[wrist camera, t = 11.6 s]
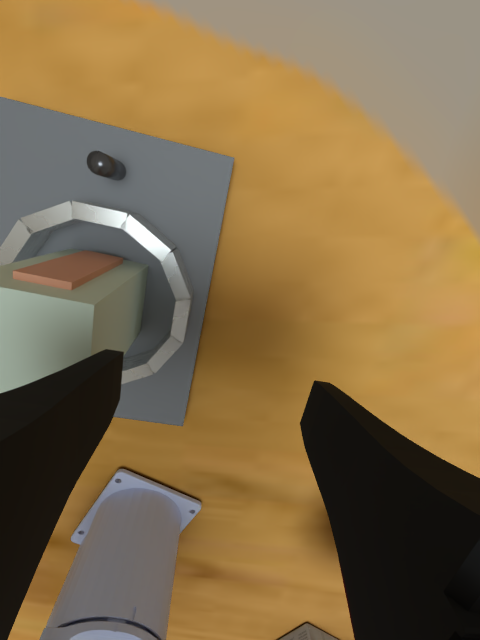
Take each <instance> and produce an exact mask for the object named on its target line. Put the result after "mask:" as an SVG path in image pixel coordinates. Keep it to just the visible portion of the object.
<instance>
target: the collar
mask: <svg viewBox="0 0 480 640" xmlns="http://www.w3.org/2000/svg"><path fill="white" fill-rule="evenodd" d="M87 166H88V168H89V169H90V171H91V172H92V173H94V174H96V175H99V176H102V177H106V178H109V179H113V180H116V181H120V180H122V179H123V178H124V177H125V175H126V168H125V166H124V164H123V163H122V162H120V161H119V160H117V159H115V158H113V157H111V156H109V155H107V154H105V153H103V152H100V151H92V152H91V153H89V155H88V157H87ZM83 220H84V221H88V222H93V223H98V224H102V225H107V226H111V227H116V228H120V229H123V230H124V231H126V232H127V233H128V234H129V235H130V236H132V237H133V238H134V239H135V240H136V241H138V242H139V243H140V244H141V245H142V246H144V247H145V248H146V249H147V250H148V251H150V252H151V253H152V254H153V255H154V256H156V257H157V258H158V259H159V260H160V262H161V265H162V267H163V270H164V272H165V274H166V277H167V279H168V282H169V284H170V287H171V289H172V291H173V294H174V296H175V299H176V302H175V309H174V315H173V322H172V328H171V330H170V331H169V332H168V333H167V334H166V336H165V337H164V338H163V339H162V340H161V341H160V342H159V343H158V345H157V346H156V347H155V348H154V349H152V350H149V351H146V352H143V353H140V354H137V355H133V356H130V357H127V358H124V359H123V369H122V381H121V384H124V383H127V382H131V381H134V380H137V379H140V378H143V377H147V376H150V375H153V374H154V373H156V372H157V371H158V370H159V369H160V368H161V367H162V366H163V364H164V363H165V362H166V361H167V360H168V359H169V358H170V357H171V356H172V355H173V354H174V353H175V351H176V350H177V349H178V348H179V347H180V346H181V345H182V344H183V342H184V338H185V335H186V332H187V327H188V322H189V316H190V310H191V305H192V299H193V293H194V291H193V289H194V288H193V286H192V283H191V281H190V278H189V275H188V273H187V270H186V268H185V265H184V262H183V260H182V257H181V254H180V252H179V249H178V248H176V249H175V247H176V245H175V244H174V243H173V242H171V241H170V240H169V239H168V238H167V237H166V236H165V235H163V234H162V233H161V232H160V231H159V230H158V229H156V228H155V227H154V226H153V225H152V224H151V223H150V222H148V221H147V220H146V219H145V218H144V217H143V216H141V215H140V214H138V213H136V212H131V211H127V210H122V209H118V208H114V207H109V206H105V205H100V204H96V203H91V202H82V201H68V202H65V203H62V204H59V205H56V206H53V207H51V208H48V209H45V210H42V211H39V212H36V213H33V214H30V215H28V216H25V217H22V218H21V219H18V221H17V222H16V224H15V225H14V227H13V229H12V230H11V232H10V233H9V235H8V236H7V238H6V239H5V241H4V242H3V244H2V245H1V247H0V266H1V265H5V264H10V263H14V262H18V261H22V260H26V259H30V258H34V257H36V255H37V254H38V252H39V251H40V249H41V248H42V247H43V245H44V244H45V242H46V241H47V239H48V238H49V236H50V235H51V234H52V232H53V231H54V230H57V229H60V228H63V227H66V226H69V225H72V224H75V223H78V222H80V221H83Z"/></svg>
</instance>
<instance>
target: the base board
mask: <svg viewBox="0 0 480 640" xmlns="http://www.w3.org/2000/svg"><path fill="white" fill-rule="evenodd" d="M92 151H100V152H103V153H105V154H107V155H109V156H111V157H113V158H115V159H117V160H119V161H120V162H122V163H123V164H124V166H125V168H126V175H125V177H124V178H123V179H122V180H120V181H116V180H113V179H109V178H106V177H102V176H99V175H96V174H94V173H92V172H91V171H90V169H89V168H88V166H87V157H88V155H89V153H91V152H92ZM233 162H234V158H233V157H229V156H225V155H221V154H218V153H214V152H210V151H206V150H202V149H198V148H195V147H191V146H187V145H183V144H179V143H176V142H172V141H168V140H164V139H160V138H156V137H153V136H149V135H145V134H141V133H137V132H133V131H130V130H126V129H122V128H118V127H114V126H110V125H107V124H103V123H99V122H95V121H91V120H87V119H84V118H80V117H76V116H72V115H68V114H65V113H61V112H57V111H53V110H49V109H45V108H42V107H38V106H34V105H30V104H26V103H22V102H19V101H15V100H11V99H7V98H3V97H0V247H1V245H2V244H3V242H4V241H5V239H6V238H7V236H8V235H9V233H10V232H11V230H12V229H13V227H14V225H15V224H16V222H17V221H18V219H21V218H22V217H25V216H28V215H30V214H33V213H36V212H39V211H42V210H45V209H48V208H51V207H53V206H56V205H59V204H62V203H65V202H68V201H82V202H91V203H96V204H100V205H105V206H109V207H114V208H118V209H122V210H127V211H131V212H136V213H138V214H140V215H141V216H143V217H144V218H145V219H146V220H147V221H148V222H150V223H151V224H152V225H153V226H154V227H155V228H156V229H158V230H159V231H160V232H161V233H162V234H163V235H165V236H166V237H167V238H168V239H169V240H170V241H171V242H173V243H174V244H175V245H176V247H175V249H176V248H178V249H179V252H180V254H181V257H182V260H183V262H184V265H185V268H186V270H187V273H188V275H189V278H190V281H191V283H192V286H193V288H194V289H193V291H194V293H193V299H192V305H191V310H190V316H189V322H188V327H187V332H186V335H185V338H184V342H183V344H182V345H181V346H180V347H179V348H178V349H177V350H176V351H175V353H174V354H173V355H172V356H171V357H170V358H169V359H168V360H167V361H166V362H165V363H164V364H163V366H162V367H161V368H160V369H159V370H158V371H157V372H156V373H154V374H153V375H150V376H147V377H143V378H140V379H137V380H134V381H131V382H127V383H124V384H121V394H120V401H119V403H118V406H117V408H116V411H115V413H114V416H113V417H119V418H126V419H133V420H141V421H148V422H155V423H162V424H170V425H177V426H183V423H184V418H185V413H186V407H187V402H188V397H189V392H190V386H191V381H192V376H193V371H194V365H195V360H196V355H197V350H198V345H199V339H200V334H201V329H202V324H203V318H204V313H205V308H206V303H207V298H208V292H209V287H210V282H211V277H212V271H213V266H214V261H215V256H216V251H217V245H218V240H219V235H220V230H221V224H222V219H223V214H224V209H225V203H226V198H227V193H228V188H229V183H230V177H231V172H232V167H233ZM71 248H72V249H77V250H81V251H84V250H88V251H93V252H98V253H102V254H107V255H111V256H116V257H121V258H123V260H128V261H133V262H137V263H142V264H146V265H149V266H148V274H147V282H146V290H145V297H144V305H143V313H142V321H141V329H140V333H139V334H138V336H137V337H136V339H135V340H134V342H133V343H132V345H131V346H130V348H129V349H128V351H127V352H126V354H125V355H124V356H123V359H124V358H127V357H130V356H133V355H137V354H140V353H143V352H146V351H149V350H152V349H154V348H155V347H156V346H157V345H158V343H159V342H160V341H161V340H162V339H163V338H164V337H165V336H166V334H167V333H168V332H169V331H170V330H171V328H172V322H173V315H174V309H175V302H176V299H175V296H174V294H173V291H172V289H171V287H170V284H169V282H168V279H167V277H166V274H165V272H164V270H163V267H162V265H161V262H160V260H159V259H158V258H157V257H156V256H154V255H153V254H152V253H151V252H150V251H148V250H147V249H146V248H145V247H144V246H142V245H141V244H140V243H139V242H138V241H136V240H135V239H134V238H133V237H132V236H130V235H129V234H128V233H127V232H126V231H124V230H123V229H120V228H116V227H111V226H107V225H102V224H98V223H93V222H88V221H84V220H83V221H80V222H78V223H75V224H72V225H69V226H66V227H63V228H60V229H57V230H54V231H53V232H52V234H51V235H50V236H49V238H48V239H47V241H46V242H45V244H44V245H43V247H42V248H41V249H40V251H39V252H38V254H37V255H36V257H38V256H42V255H46V254H50V253H54V252H58V251H62V250H66V249H71Z"/></svg>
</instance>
